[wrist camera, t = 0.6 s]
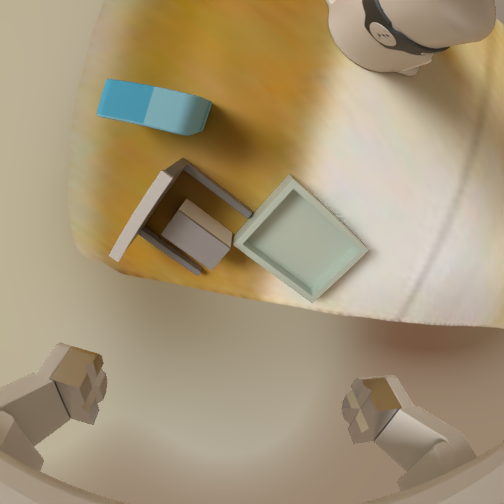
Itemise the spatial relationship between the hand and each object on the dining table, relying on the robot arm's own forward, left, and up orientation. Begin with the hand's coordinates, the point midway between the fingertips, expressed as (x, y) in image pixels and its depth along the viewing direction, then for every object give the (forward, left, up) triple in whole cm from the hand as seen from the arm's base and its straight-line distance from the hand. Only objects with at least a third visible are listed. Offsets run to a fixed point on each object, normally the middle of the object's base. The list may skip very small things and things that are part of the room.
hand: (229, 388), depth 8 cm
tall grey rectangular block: (+11, +1, -37) cm, 38 cm away
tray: (+3, +14, -36) cm, 39 cm away
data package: (-1, -14, -37) cm, 39 cm away
